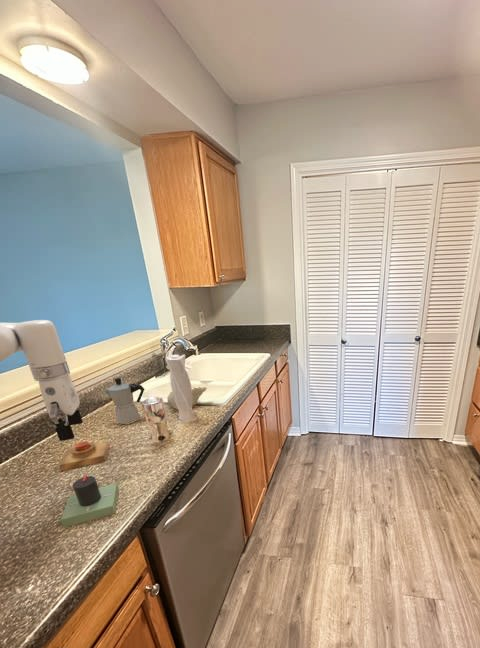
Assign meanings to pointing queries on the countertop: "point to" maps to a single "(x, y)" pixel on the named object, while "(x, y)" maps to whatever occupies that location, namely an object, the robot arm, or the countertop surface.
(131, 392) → the coffee maker
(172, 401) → the cheese
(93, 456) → the button block
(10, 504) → the countertop surface
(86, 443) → the dispense button
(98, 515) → the dial panel
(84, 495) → the dial
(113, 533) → the countertop surface
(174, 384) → the skyscraper
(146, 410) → the beer glass
